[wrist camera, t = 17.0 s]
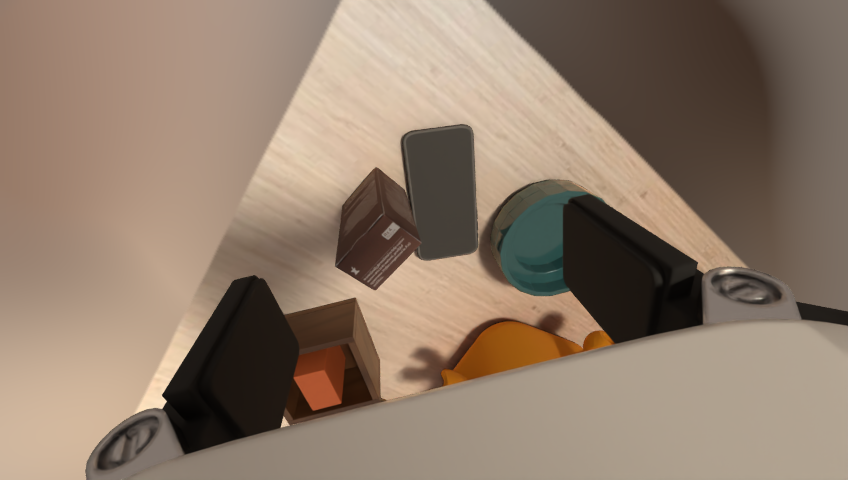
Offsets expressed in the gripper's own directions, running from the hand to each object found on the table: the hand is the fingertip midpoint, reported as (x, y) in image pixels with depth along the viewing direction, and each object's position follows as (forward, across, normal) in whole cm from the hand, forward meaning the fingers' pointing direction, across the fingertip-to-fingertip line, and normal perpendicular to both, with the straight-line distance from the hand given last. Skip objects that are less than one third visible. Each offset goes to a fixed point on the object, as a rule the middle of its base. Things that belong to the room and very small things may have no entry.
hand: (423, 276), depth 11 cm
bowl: (+26, -15, +16) cm, 34 cm away
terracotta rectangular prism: (+26, +15, +25) cm, 39 cm away
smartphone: (+26, -4, +9) cm, 28 cm away
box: (+26, +3, +7) cm, 28 cm away
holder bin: (+26, +15, +25) cm, 39 cm away
